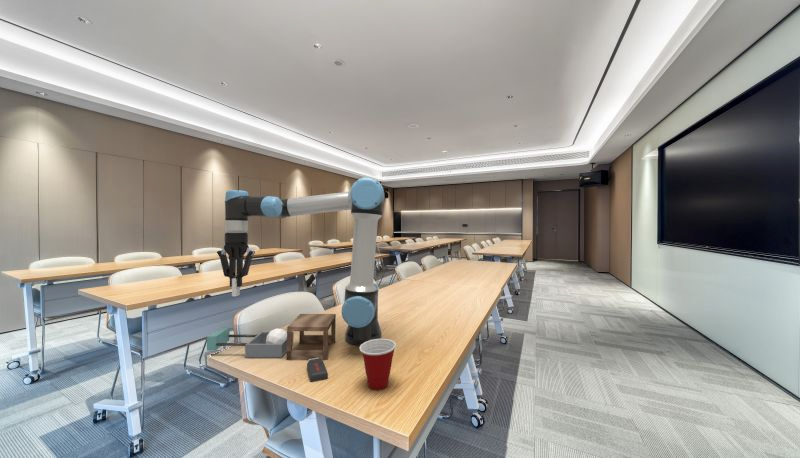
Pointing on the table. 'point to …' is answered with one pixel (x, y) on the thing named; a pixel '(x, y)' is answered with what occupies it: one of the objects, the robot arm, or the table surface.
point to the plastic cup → (378, 361)
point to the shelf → (311, 324)
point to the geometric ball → (276, 336)
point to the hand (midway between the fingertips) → (235, 295)
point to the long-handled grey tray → (248, 344)
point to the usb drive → (316, 370)
